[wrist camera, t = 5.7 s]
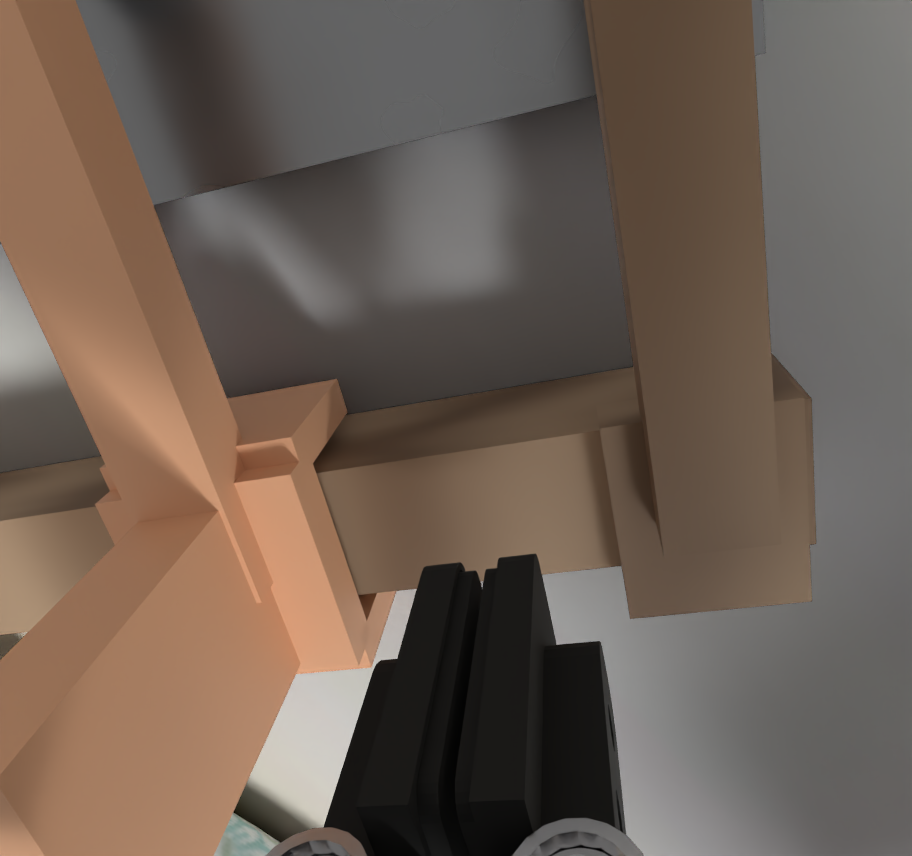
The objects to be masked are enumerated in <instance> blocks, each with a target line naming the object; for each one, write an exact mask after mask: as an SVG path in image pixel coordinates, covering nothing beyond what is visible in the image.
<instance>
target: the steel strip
mask: <svg viewBox="0 0 912 856" xmlns="http://www.w3.org/2000/svg"><path fill="white" fill-rule="evenodd" d="M76 3H77V5H78V8H79V11H80V13H81V16H82V18H83V21H84V24H85V26H86V29H87V32H88V34H89V37H90V40H91V42H92V45H93V47H94V50H95V53H96V55H97V58H98V61H99V63H100V66H101V69H102V71H103V74H104V76H105V79H106V82H107V84H108V87H109V90H110V92H111V95H112V97H113V100H114V103H115V105H116V108H117V111H118V113H119V116H120V119H121V121H122V124H123V126H124V129H125V132H126V134H127V137H128V140H129V142H130V145H131V147H132V150H133V153H134V155H135V158H136V161H137V163H138V166H139V169H140V171H141V174H142V176H143V179H144V182H145V184H146V187H147V190H148V192H149V195H150V197H151V200H152V203H153V205H156V204H160V203H164V202H168V201H172V200H176V199H180V198H184V197H188V196H192V195H196V194H200V193H204V192H208V191H212V190H216V189H220V188H224V187H229V186H233V185H237V184H241V183H245V182H249V181H253V180H257V179H261V178H265V177H269V176H273V175H277V174H281V173H285V172H289V171H293V170H297V169H301V168H305V167H309V166H313V165H317V164H321V163H325V162H329V161H333V160H337V159H341V158H345V157H349V156H353V155H357V154H361V153H366V152H370V151H374V150H378V149H382V148H386V147H390V146H394V145H398V144H402V143H406V142H410V141H414V140H418V139H422V138H426V137H430V136H434V135H438V134H442V133H446V132H450V131H454V130H458V129H462V128H466V127H470V126H474V125H478V124H482V123H486V122H490V121H494V120H499V119H503V118H507V117H511V116H515V115H519V114H523V113H527V112H531V111H535V110H539V109H543V108H547V107H551V106H555V105H559V104H563V103H567V102H571V101H575V100H579V99H583V98H587V97H591V96H595V95H596V88H595V80H594V73H593V66H592V58H591V51H590V44H589V36H588V29H587V22H586V14H585V7H584V0H76ZM752 17H753V35H754V53H755V56H756V55H760V54H764V53H765V34H764V14H763V0H752ZM0 243H1V242H0Z"/></svg>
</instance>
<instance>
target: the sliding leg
mask: <svg viewBox="0 0 912 856" xmlns="http://www.w3.org/2000/svg"><path fill="white" fill-rule="evenodd" d="M0 242H1V244H2V246H3V248H4V250H5V252H6V255H7V257H8V259H9V261H10V263H11V265H12V267H13V269H14V272H15V274H16V276H17V278H18V280H19V282H20V284H21V286H22V289H23V291H24V293H25V295H26V297H27V299H28V301H29V303H30V306H31V308H32V310H33V312H34V314H35V316H36V318H37V320H38V323H39V325H40V327H41V329H42V331H43V333H44V335H45V337H46V340H47V342H48V344H49V346H50V348H51V350H52V352H53V354H54V357H55V359H56V361H57V363H58V365H59V367H60V369H61V371H62V374H63V376H64V378H65V380H66V382H67V384H68V386H69V388H70V391H71V393H72V395H73V397H74V399H75V401H76V403H77V405H78V408H79V410H80V412H81V414H82V416H83V418H84V420H85V422H86V425H87V427H88V429H89V431H90V433H91V435H92V437H93V439H94V442H95V444H96V446H97V448H98V450H99V452H100V454H101V456H102V459H103V461H104V463H105V464H104V465H103V466H102V467H101V468H99V469H100V471H101V473H102V475H103V478H104V480H105V482H106V484H107V486H108V488H109V490H110V491H109V492H108V493H107V494H106V495H105V496H104V497H103V498H101V499H100V500H99V501H98V502H97V503H96V504H95V506H96V508H97V510H98V512H99V514H100V516H101V518H102V520H103V522H104V524H105V526H106V528H107V530H108V532H109V534H110V536H111V538H112V540H113V542H114V545H115V546H114V547H113V548H112V549H111V550H110V551H109V552H108V553H107V554H106V555H105V556H104V557H103V558H102V559H101V560H100V561H99V562H98V563H97V564H96V565H95V566H94V567H93V568H92V569H91V570H90V571H89V572H88V573H87V574H86V575H85V576H84V577H83V578H82V579H81V580H80V581H79V582H78V583H77V584H76V585H75V586H74V587H73V588H72V589H71V590H70V591H69V592H68V593H67V594H66V595H65V596H64V597H63V598H62V599H61V600H60V601H59V602H58V603H57V604H56V605H55V606H54V607H53V608H52V609H51V610H50V611H49V612H48V613H47V614H46V615H45V616H44V617H43V618H42V619H41V620H40V621H39V622H38V623H37V624H36V625H35V626H34V627H33V628H32V629H31V630H30V631H29V632H28V633H27V634H26V635H25V636H24V637H23V638H22V639H21V640H20V641H19V642H18V643H17V644H16V645H15V646H14V647H13V648H12V649H11V650H10V651H9V652H8V653H7V654H6V655H5V656H4V657H3V658H2V659H1V660H0V856H214V854H215V852H216V849H217V847H218V845H219V843H220V840H221V838H222V836H223V834H224V832H225V829H226V827H227V825H228V823H229V821H230V818H231V816H232V814H233V812H234V810H235V807H236V805H237V803H238V801H239V799H240V796H241V794H242V792H243V790H244V788H245V785H246V783H247V781H248V779H249V776H250V774H251V772H252V770H253V768H254V765H255V763H256V761H257V759H258V757H259V754H260V752H261V750H262V748H263V746H264V743H265V741H266V739H267V737H268V735H269V732H270V730H271V728H272V726H273V724H274V721H275V719H276V717H277V715H278V713H279V710H280V708H281V706H282V704H283V701H284V699H285V697H286V695H287V693H288V690H289V688H290V686H291V684H292V682H293V679H294V677H295V675H296V674H302V673H314V672H325V671H336V670H348V669H359V668H370V667H372V664H373V661H374V658H375V655H376V652H377V649H378V646H379V643H380V640H381V637H382V633H383V630H384V627H385V624H386V621H387V618H388V615H389V612H390V609H391V606H392V603H393V600H394V596H395V593H396V591H390V592H381V593H372V594H363V595H358V594H357V591H356V588H355V585H354V582H353V579H352V576H351V573H350V570H349V568H348V565H347V562H346V559H345V556H344V553H343V550H342V547H341V544H340V541H339V538H338V535H337V532H336V530H335V527H334V524H333V521H332V518H331V515H330V512H329V509H328V506H327V503H326V500H325V497H324V494H323V492H322V489H321V486H320V483H319V480H318V477H317V474H316V471H315V468H314V465H313V463H314V461H315V460H316V458H317V457H318V455H319V454H320V452H321V451H322V449H323V448H324V446H325V445H326V443H327V442H328V440H329V439H330V437H331V436H332V434H333V433H334V431H335V430H336V428H337V427H338V425H339V424H340V422H341V421H342V419H343V418H344V416H345V415H346V413H347V409H346V405H345V402H344V399H343V396H342V392H341V389H340V386H339V383H338V380H337V379H333V380H327V381H322V382H316V383H311V384H305V385H300V386H294V387H289V388H283V389H277V390H272V391H266V392H261V393H255V394H250V395H244V396H238V397H233V398H227V397H226V395H225V392H224V390H223V387H222V384H221V382H220V379H219V376H218V374H217V371H216V369H215V366H214V363H213V361H212V358H211V355H210V353H209V350H208V347H207V345H206V342H205V340H204V337H203V334H202V332H201V329H200V326H199V324H198V321H197V319H196V316H195V313H194V311H193V308H192V305H191V303H190V300H189V297H188V295H187V292H186V290H185V287H184V284H183V282H182V279H181V276H180V274H179V271H178V269H177V266H176V263H175V261H174V258H173V255H172V253H171V250H170V247H169V245H168V242H167V240H166V237H165V234H164V232H163V229H162V226H161V224H160V221H159V219H158V216H157V213H156V211H155V208H154V205H153V203H152V200H151V197H150V195H149V192H148V190H147V187H146V184H145V182H144V179H143V176H142V174H141V171H140V169H139V166H138V163H137V161H136V158H135V155H134V153H133V150H132V147H131V145H130V142H129V140H128V137H127V134H126V132H125V129H124V126H123V124H122V121H121V119H120V116H119V113H118V111H117V108H116V105H115V103H114V100H113V97H112V95H111V92H110V90H109V87H108V84H107V82H106V79H105V76H104V74H103V71H102V69H101V66H100V63H99V61H98V58H97V55H96V53H95V50H94V47H93V45H92V42H91V40H90V37H89V34H88V32H87V29H86V26H85V24H84V21H83V18H82V16H81V13H80V11H79V8H78V5H77V3H76V0H0Z"/></svg>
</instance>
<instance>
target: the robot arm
mask: <svg viewBox="0 0 912 856" xmlns="http://www.w3.org/2000/svg"><path fill="white" fill-rule="evenodd" d="M265 856H643V853H642V852H641V851H640V849H639V848H638V847H637V846H636V845H635V844H634V843H633V842H632V841H631V839H630V838H629V837H628V836H627V835H626V830H625V820H624V810H623V800H622V790H621V780H620V770H619V760H618V750H617V741H616V732H615V724H614V717H613V709H612V703H611V696H610V690H609V684H608V678H607V672H606V667H605V661H604V656H603V650H602V646H601V642H600V641H596V642H584V643H573V644H562V645H556V640H555V635H554V630H553V626H552V621H551V616H550V611H549V607H548V602H547V597H546V592H545V588H544V583H543V578H542V573H541V569H540V564H539V560H538V557H537V555H536V553H535V554H526V555H518V556H509V557H500V558H499V559H498V563H497V568H492V569H486V570H485V575H484V582H483V589H482V587H481V583H480V579H479V576H478V573H477V571H475V570H474V571H465V568H464V566H463V564H462V563H461V562H457V563H448V564H440V565H431V566H425V567H424V568H423V570H422V573H421V576H420V580H419V584H418V587H417V591H416V594H415V598H414V601H413V605H412V609H411V612H410V616H409V619H408V623H407V626H406V630H405V634H404V637H403V641H402V644H401V648H400V651H399V655H398V659H391V660H381V661H380V662H378V663H377V664H376V666H375V669H374V671H373V673H372V676H371V679H370V682H369V686H368V689H367V692H366V695H365V698H364V701H363V705H362V708H361V711H360V714H359V717H358V720H357V723H356V727H355V730H354V733H353V736H352V739H351V742H350V746H349V749H348V752H347V755H346V758H345V761H344V764H343V768H342V771H341V774H340V777H339V780H338V783H337V787H336V790H335V793H334V796H333V799H332V802H331V805H330V809H329V812H328V815H327V818H326V821H325V824H324V828H312V829H309V830H306V831H303V832H300V833H297V834H294V835H292V836H291V837H289V838H288V839H286V840H284V841H283V842H281V843H280V844H278V845H276V846H275V847H274V848H273V849H272V850H271V851H270V852H269V853H268V854H267V855H265Z"/></svg>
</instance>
